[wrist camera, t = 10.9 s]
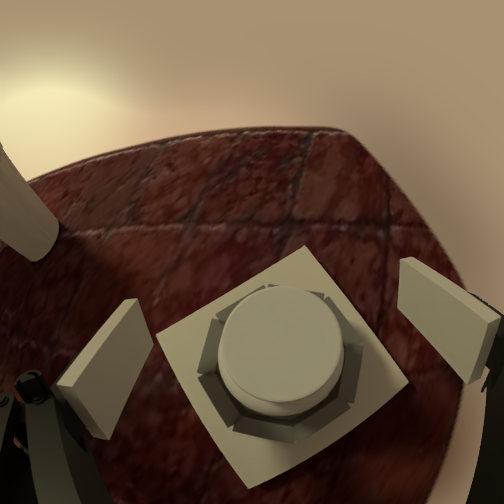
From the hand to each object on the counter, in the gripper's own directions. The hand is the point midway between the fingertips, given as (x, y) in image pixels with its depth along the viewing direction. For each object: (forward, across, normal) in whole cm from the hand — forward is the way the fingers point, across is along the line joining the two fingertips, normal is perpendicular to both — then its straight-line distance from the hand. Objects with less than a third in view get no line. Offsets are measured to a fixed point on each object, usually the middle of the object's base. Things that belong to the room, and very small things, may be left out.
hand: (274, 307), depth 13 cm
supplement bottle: (+3, 0, -6) cm, 7 cm away
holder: (+4, 0, -7) cm, 8 cm away
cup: (+15, -26, +4) cm, 30 cm away
